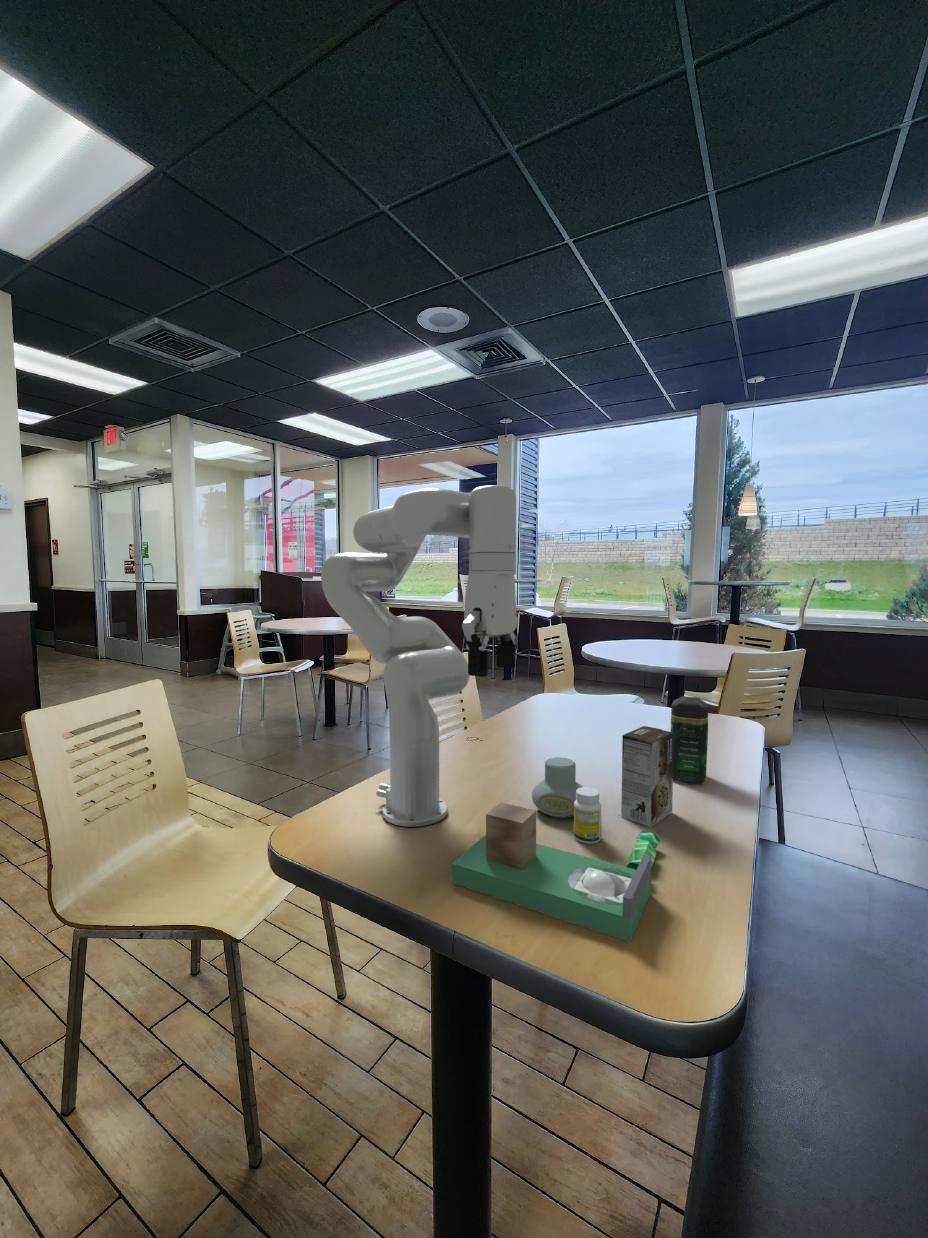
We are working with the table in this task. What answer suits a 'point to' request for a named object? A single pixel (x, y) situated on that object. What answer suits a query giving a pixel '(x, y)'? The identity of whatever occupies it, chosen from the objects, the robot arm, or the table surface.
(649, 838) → the candy
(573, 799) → the air freshener
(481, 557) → the robot arm
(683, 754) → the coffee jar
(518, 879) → the board
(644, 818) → the coffee box
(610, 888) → the ball
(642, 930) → the table surface
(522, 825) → the block
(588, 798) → the supplement bottle
